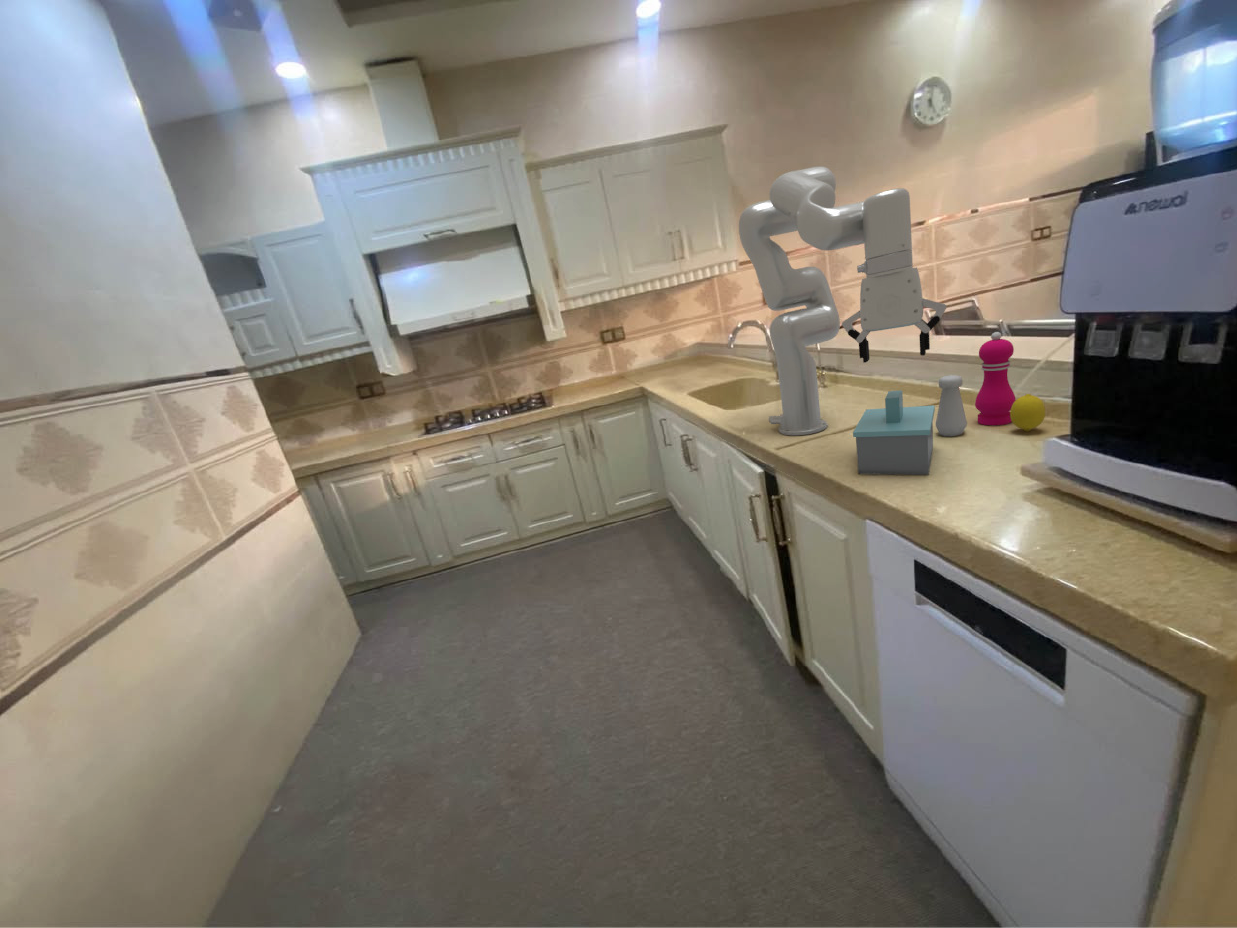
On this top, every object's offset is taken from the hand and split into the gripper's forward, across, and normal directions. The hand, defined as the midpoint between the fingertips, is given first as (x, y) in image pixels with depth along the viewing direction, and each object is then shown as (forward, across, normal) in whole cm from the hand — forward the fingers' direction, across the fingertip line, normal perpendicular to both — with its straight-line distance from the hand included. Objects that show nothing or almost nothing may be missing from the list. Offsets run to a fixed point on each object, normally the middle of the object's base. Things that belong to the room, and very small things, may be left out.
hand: (893, 357), depth 95 cm
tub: (+21, -1, +1) cm, 21 cm away
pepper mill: (+21, +16, +26) cm, 37 cm away
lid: (+14, 0, 0) cm, 15 cm away
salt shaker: (+21, +8, +18) cm, 29 cm away
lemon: (+22, +21, +18) cm, 35 cm away
